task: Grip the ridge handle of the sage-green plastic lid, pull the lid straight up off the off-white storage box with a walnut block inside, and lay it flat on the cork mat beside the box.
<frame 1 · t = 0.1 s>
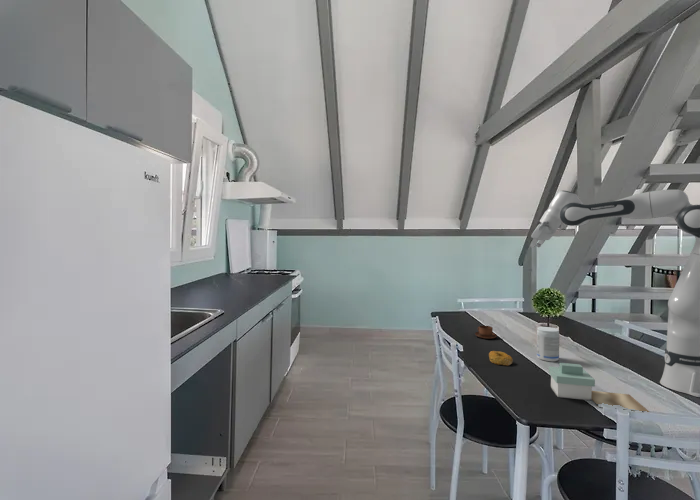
hand: (534, 246, 179), 54 cm above the table, tool tilted 30°, fingers open, 8 cm apart
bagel: (500, 362, 172), on the table
lid: (570, 375, 137), point 7 cm above the table, touching storage box
cork mat: (614, 401, 131), on the table
storage box: (570, 393, 137), on the table
supplement tub: (547, 359, 176), on the table
cup and saucer: (485, 337, 214), on the table
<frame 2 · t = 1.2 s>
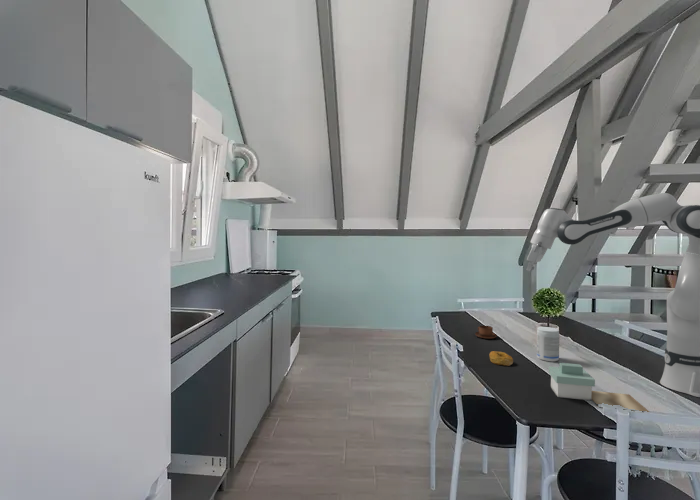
hand: (529, 270, 167), 44 cm above the table, tool tilted 20°, fingers open, 8 cm apart
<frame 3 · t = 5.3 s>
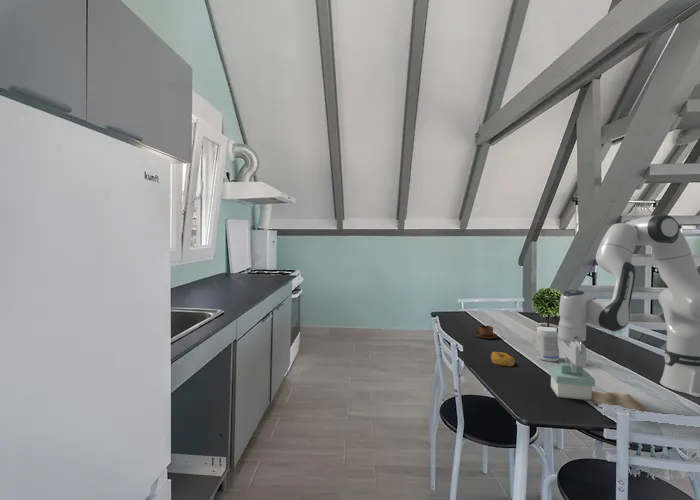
hand: (570, 369, 137), 9 cm above the table, tool pointing down, fingers closed on lid, 3 cm apart
lid: (570, 375, 137), point 7 cm above the table, touching gripper, storage box
when the fingers open (6 cm above the table, at t = 11.8 s): lid drops 2 cm, resting on cork mat.
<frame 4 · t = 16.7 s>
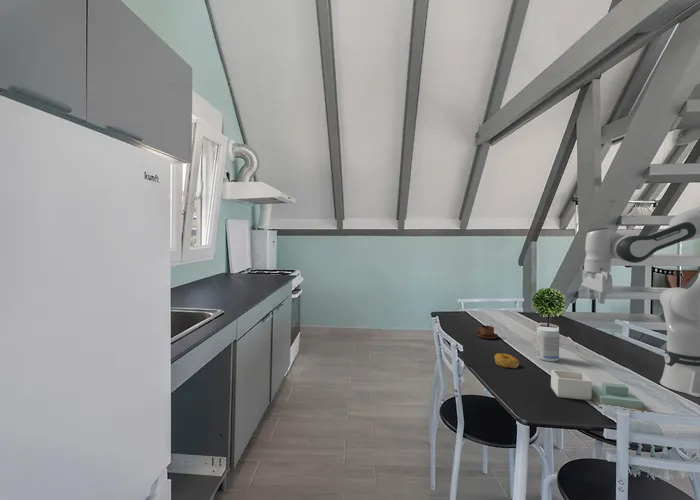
hand: (596, 301, 148), 33 cm above the table, tool pointing down, fingers open, 8 cm apart
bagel: (506, 365, 168), on the table
lid: (614, 396, 131), point 2 cm above the table, touching cork mat
everything else where it was.
at the end: lid inside the target area on the cork mat (0.1 cm from its centre), point 1.9 cm above the cork mat's base; lid tilted 0°; lid touching cork mat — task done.
